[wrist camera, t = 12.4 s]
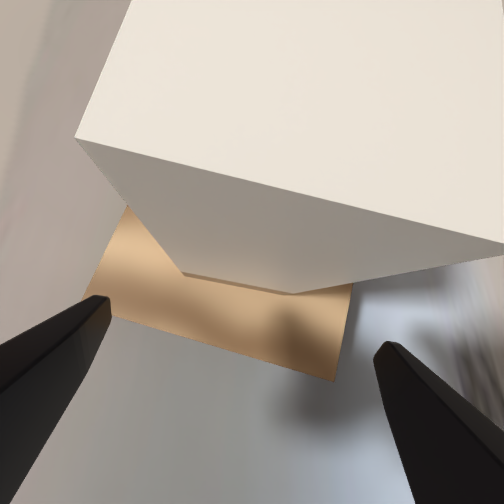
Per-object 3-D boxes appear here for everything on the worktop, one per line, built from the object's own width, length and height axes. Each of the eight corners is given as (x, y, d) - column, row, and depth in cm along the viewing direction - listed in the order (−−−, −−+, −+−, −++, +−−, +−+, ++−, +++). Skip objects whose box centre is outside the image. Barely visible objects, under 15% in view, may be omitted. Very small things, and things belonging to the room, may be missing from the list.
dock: (317, 372, 18) (334, 382, 16) (98, 305, 17) (79, 305, 14) (353, 201, 22) (371, 188, 19) (176, 135, 20) (172, 112, 18)
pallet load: (283, 295, 16) (530, 249, 4) (184, 276, 15) (73, 136, 3) (295, 212, 18) (499, -21, 5) (205, 190, 17) (191, -141, 4)
